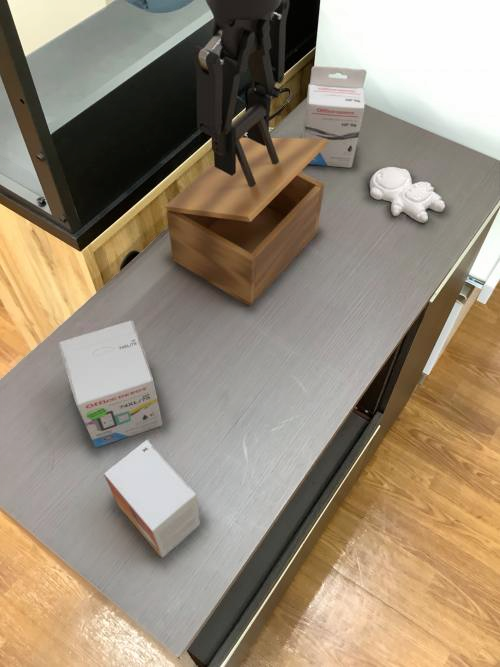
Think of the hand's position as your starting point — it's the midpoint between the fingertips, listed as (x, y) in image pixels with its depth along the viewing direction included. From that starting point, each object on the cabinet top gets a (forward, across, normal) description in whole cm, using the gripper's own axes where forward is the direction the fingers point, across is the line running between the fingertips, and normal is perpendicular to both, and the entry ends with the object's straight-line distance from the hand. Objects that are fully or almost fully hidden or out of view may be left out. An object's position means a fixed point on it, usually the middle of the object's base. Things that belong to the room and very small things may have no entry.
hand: (241, 154), depth 77 cm
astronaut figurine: (+17, +23, -15) cm, 32 cm away
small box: (+17, -37, -17) cm, 44 cm away
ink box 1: (+17, -30, -4) cm, 35 cm away
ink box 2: (+17, +24, 0) cm, 29 cm away
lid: (+3, 0, -1) cm, 4 cm away
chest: (+17, 0, -1) cm, 17 cm away
